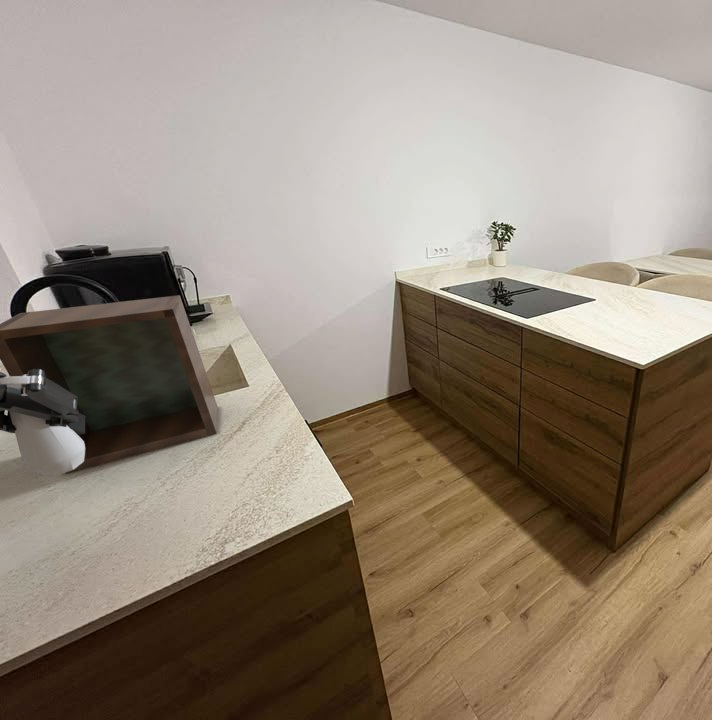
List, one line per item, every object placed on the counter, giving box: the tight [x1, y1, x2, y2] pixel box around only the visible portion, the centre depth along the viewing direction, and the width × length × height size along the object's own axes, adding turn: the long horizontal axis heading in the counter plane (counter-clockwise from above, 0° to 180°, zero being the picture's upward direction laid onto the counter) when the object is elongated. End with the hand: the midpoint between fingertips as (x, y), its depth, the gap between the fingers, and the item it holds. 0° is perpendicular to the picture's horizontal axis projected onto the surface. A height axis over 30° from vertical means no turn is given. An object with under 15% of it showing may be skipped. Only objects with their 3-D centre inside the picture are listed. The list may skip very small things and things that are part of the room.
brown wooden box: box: [0, 294, 219, 475], centre depth 76 cm, size 24×13×28 cm, turn 122°
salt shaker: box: [9, 411, 85, 477], centre depth 50 cm, size 6×6×13 cm
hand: (64, 428), depth 54 cm, fingers closed on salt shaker, 3 cm apart
